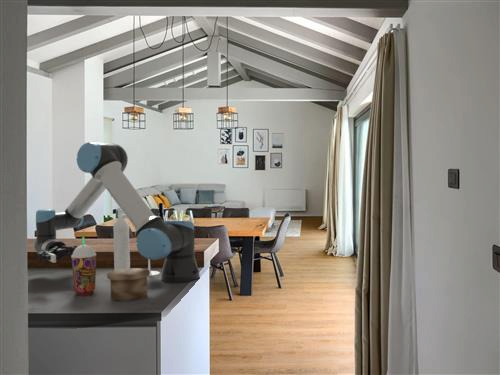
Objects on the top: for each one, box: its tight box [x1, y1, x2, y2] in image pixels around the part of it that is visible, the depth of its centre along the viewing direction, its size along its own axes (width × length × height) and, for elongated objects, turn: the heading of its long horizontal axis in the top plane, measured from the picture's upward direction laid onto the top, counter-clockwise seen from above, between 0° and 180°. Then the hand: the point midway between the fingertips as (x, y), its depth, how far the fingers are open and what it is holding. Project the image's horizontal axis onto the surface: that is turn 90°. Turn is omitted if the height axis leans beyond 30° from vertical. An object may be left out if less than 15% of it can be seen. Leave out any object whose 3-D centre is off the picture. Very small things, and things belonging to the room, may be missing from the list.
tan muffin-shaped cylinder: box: [106, 267, 151, 302], centre depth 153 cm, size 14×14×8 cm
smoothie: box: [70, 236, 97, 296], centre depth 157 cm, size 8×8×20 cm
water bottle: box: [112, 213, 131, 271], centre depth 188 cm, size 9×6×25 cm
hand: (74, 256), depth 164 cm, fingers open, 13 cm apart
